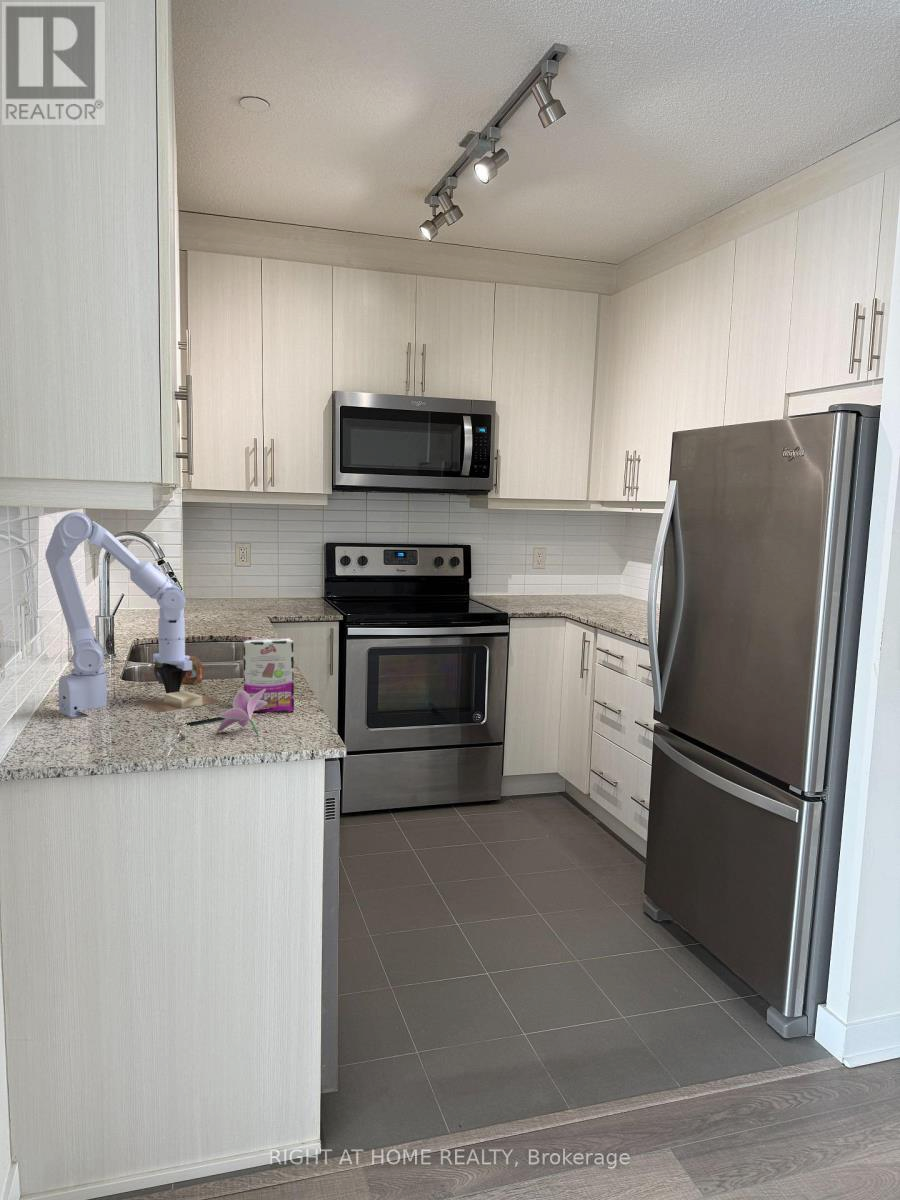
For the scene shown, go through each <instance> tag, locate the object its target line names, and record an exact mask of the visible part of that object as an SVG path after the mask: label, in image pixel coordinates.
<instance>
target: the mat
mask: <svg viewBox="0 0 900 1200" xmlns="http://www.w3.org/2000/svg"><path fill="white" fill-rule="evenodd" d="M224 719H226V718H221V717H219V716H218V717H213V718H206V719H199V720H196V721H190V722H185V724H184V725H186V724H187V725H186V726H188V725H190V726H189V727H191V726H198V725H204V724H209V725H211V724H210V723H215V722H220V721H224ZM220 723H221V722H220ZM215 724H216V723H215ZM204 726H205V725H204ZM198 727H199V726H198Z"/></svg>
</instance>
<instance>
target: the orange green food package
mask: <svg viewBox="0 0 900 1200" xmlns="http://www.w3.org/2000/svg"><path fill="white" fill-rule="evenodd" d="M189 656H190V659H188V660H190V661H192V670H187V672H186V674H185V675H184V677H183V680H182V683H181V684H189V685H193V686H194V685H199V684H201V683H202V681H203V678H204V666H203V663H202V662H201V660H200V659H199V658H198V657H197V656H194V655H189ZM162 665H163V663H159V662H154V667H153V670H154V672H153V673H154V678H155V679H156V681H157V682H158V683H159V684H163V681H162V678H161V676H160V674H159V672H158V671H157V667H162Z"/></svg>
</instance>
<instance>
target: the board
mask: <svg viewBox="0 0 900 1200" xmlns="http://www.w3.org/2000/svg"><path fill="white" fill-rule="evenodd" d="M193 694H196V695H199V696H202V705H200V706H201V707H202V706H207V705H212V704H219V703H224V702H225V701H223V700H221V699H217V698H214V697H211V696H208V695H206V694H202V693H198V692H196V693H195V692H194V693H193ZM133 704H134V705H137V706H139V707H142V708H146V709H148V710H151V711H154V712H156V713H163V712H170V711H171V712H172V711H175V710H183V709H182V708H179V707H176V706H173V705H170V704H167V703H164V697H163V698H162V697H161V698H156V699H149V700H142V701H137V702H133ZM200 706H199V707H200Z"/></svg>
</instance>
